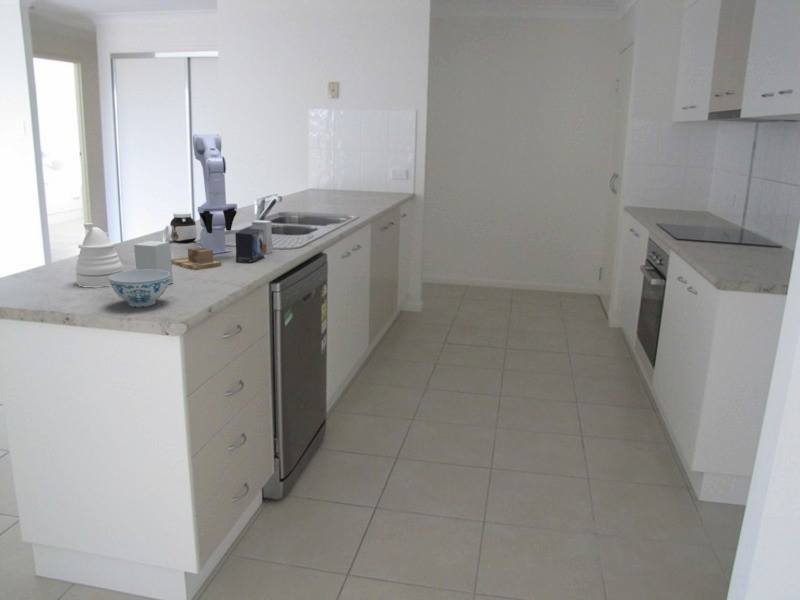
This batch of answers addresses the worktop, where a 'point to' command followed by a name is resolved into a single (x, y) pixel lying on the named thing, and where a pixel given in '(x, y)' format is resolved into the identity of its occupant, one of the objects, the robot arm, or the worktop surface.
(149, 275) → the chinaware
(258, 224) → the skincare box
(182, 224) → the spread jar
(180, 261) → the board
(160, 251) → the supplement box
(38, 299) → the worktop surface
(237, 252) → the small box
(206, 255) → the block
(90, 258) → the honey pot
